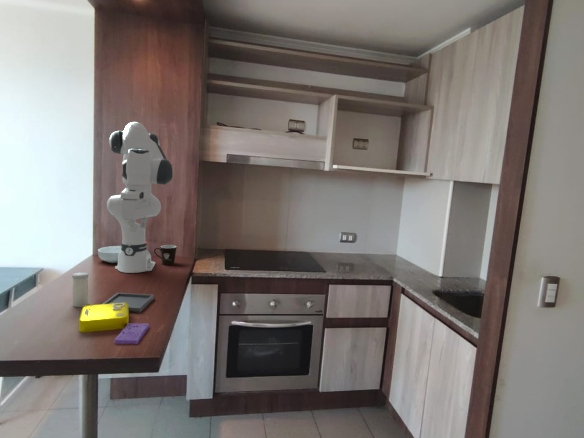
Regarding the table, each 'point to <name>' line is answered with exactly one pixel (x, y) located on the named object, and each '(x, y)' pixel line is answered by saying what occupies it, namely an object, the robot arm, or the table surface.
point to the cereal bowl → (109, 253)
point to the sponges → (131, 333)
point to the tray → (131, 300)
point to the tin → (80, 289)
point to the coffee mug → (167, 254)
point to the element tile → (104, 317)
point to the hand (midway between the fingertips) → (138, 229)
